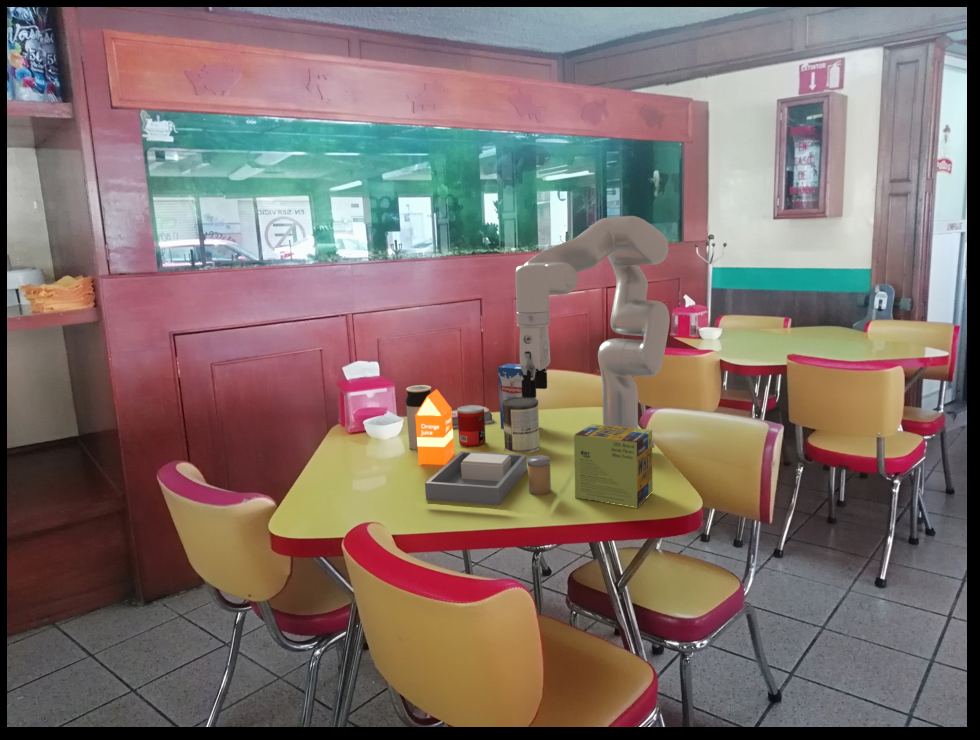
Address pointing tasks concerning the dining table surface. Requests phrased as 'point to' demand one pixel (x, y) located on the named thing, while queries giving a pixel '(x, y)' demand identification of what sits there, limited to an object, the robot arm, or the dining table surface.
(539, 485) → the amber jar
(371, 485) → the dining table surface
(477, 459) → the egg box
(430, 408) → the orange juice
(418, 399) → the travel mug
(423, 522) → the dining table surface
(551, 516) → the dining table surface
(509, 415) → the coffee can
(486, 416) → the packaged product
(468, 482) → the tray
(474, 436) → the canned food
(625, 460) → the protein box
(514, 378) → the milk carton
